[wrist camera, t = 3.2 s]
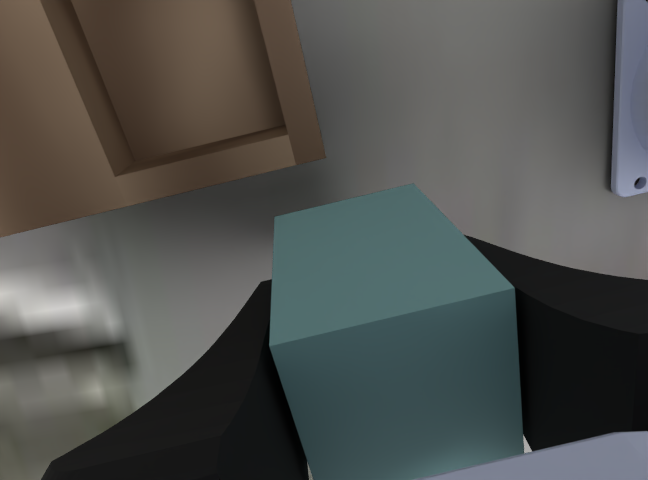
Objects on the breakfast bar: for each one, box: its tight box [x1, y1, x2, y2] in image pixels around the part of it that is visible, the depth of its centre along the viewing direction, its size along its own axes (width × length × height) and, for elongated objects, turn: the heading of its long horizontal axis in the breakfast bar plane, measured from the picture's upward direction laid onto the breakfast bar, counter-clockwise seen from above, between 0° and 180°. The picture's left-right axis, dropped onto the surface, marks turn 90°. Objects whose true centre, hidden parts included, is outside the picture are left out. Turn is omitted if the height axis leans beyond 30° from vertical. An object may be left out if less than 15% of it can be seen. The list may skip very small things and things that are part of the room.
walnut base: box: [0, 0, 326, 237], centre depth 14 cm, size 11×8×3 cm
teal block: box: [269, 183, 524, 480], centre depth 11 cm, size 4×4×6 cm
